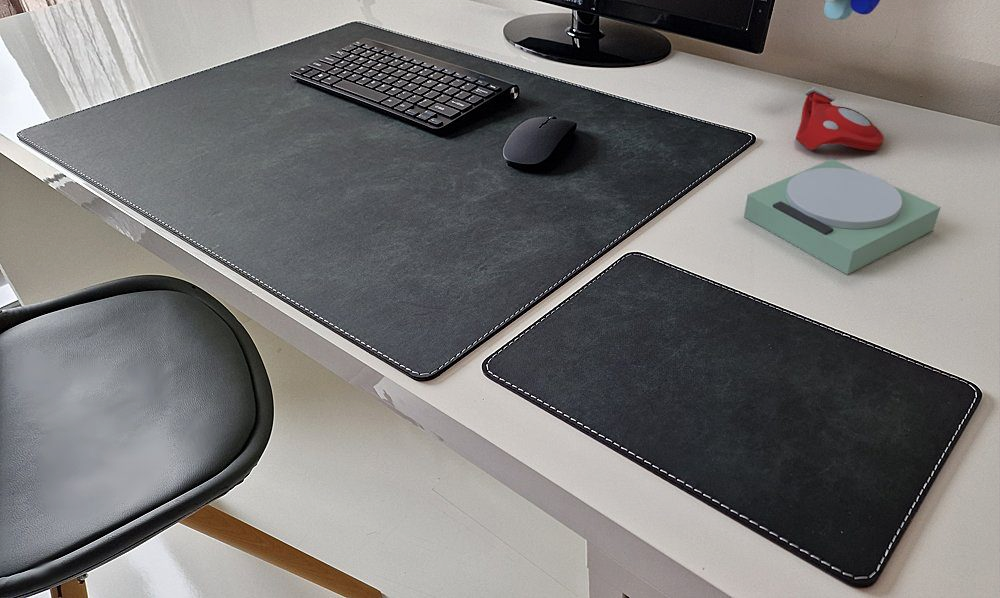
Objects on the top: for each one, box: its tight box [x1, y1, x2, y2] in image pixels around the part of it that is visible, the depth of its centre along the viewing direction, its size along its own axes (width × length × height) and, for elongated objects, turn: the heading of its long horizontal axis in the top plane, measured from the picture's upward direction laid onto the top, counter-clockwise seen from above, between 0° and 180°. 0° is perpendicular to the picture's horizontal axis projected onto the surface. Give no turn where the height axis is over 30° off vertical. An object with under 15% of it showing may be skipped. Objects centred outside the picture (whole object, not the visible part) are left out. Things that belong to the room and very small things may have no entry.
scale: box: [743, 158, 941, 275], centre depth 74 cm, size 12×12×3 cm
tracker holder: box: [795, 86, 884, 152], centre depth 88 cm, size 12×4×10 cm
